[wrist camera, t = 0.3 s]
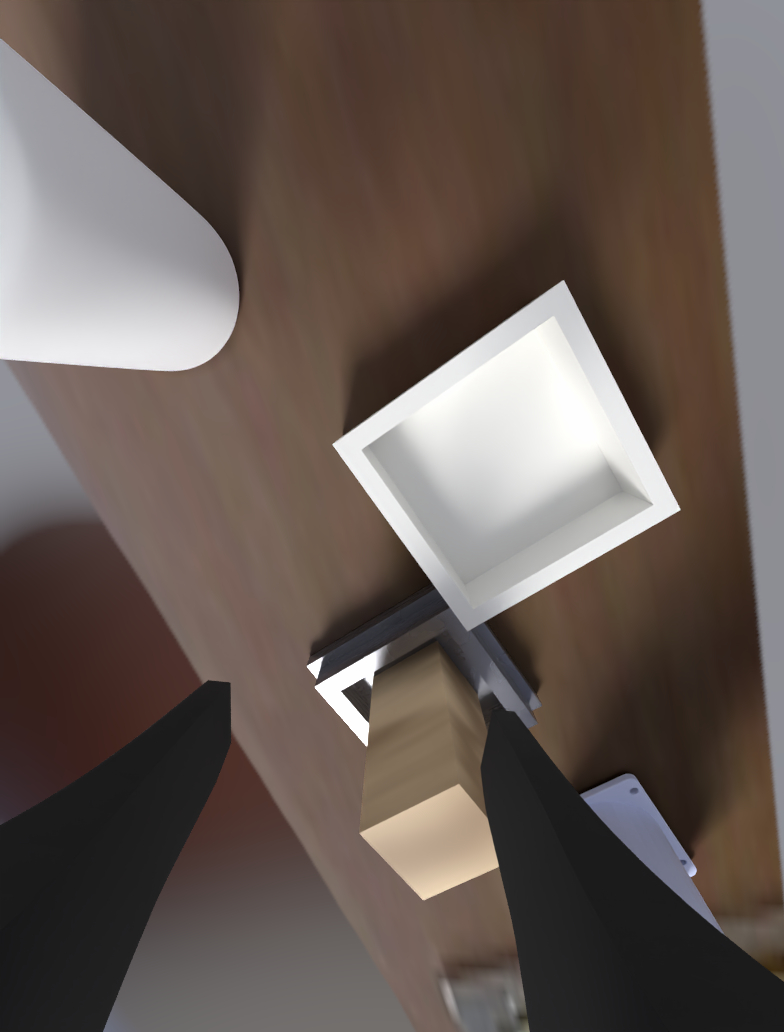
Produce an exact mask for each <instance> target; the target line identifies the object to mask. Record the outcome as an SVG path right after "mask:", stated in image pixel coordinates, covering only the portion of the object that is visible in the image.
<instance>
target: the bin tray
mask: <svg viewBox="0 0 784 1032" xmlns="http://www.w3.org/2000/svg"><path fill="white" fill-rule="evenodd" d="M332 445H333V446H334V448H335V449H336V450H337V452H338V453H339V454H340V456H341V457H342V459H343V460H344V461H345V463H346V464H347V466H348V467H349V468H350V470H351V471H352V472H353V474H354V475H355V477H356V478H357V479H358V481H359V482H360V484H361V485H362V486H363V488H364V489H365V490H366V492H367V493H368V495H369V496H370V497H371V499H372V500H373V502H374V503H375V504H376V506H377V507H378V508H379V510H380V511H381V513H382V514H383V515H384V517H385V518H386V520H387V521H388V522H389V524H390V525H391V526H392V528H393V529H394V531H395V532H396V533H397V535H398V536H399V538H400V539H401V540H402V542H403V543H404V544H405V546H406V547H407V549H408V550H409V551H410V553H411V554H412V556H413V557H414V558H415V560H416V561H417V562H418V564H419V565H420V567H421V568H422V569H423V571H424V572H425V574H426V575H427V576H428V578H429V579H430V580H431V582H432V583H433V585H434V586H435V587H436V589H437V590H438V592H439V593H440V594H441V596H442V597H443V598H444V600H445V601H446V603H447V604H448V605H449V607H450V608H451V610H452V611H453V612H454V614H455V615H456V617H457V618H458V619H459V621H460V622H461V623H462V625H463V626H464V628H465V629H466V630H467V631H469V630H471V629H472V628H474V627H476V626H478V625H479V624H481V623H483V622H485V621H487V620H488V619H490V618H492V617H494V616H495V615H497V614H499V613H501V612H502V611H504V610H506V609H508V608H509V607H511V606H513V605H515V604H516V603H518V602H520V601H522V600H523V599H525V598H527V597H529V596H530V595H532V594H534V593H536V592H537V591H539V590H541V589H543V588H544V587H546V586H548V585H550V584H551V583H553V582H555V581H557V580H558V579H560V578H562V577H564V576H565V575H567V574H569V573H571V572H573V571H574V570H576V569H578V568H580V567H581V566H583V565H585V564H587V563H588V562H590V561H592V560H594V559H595V558H597V557H599V556H601V555H602V554H604V553H606V552H608V551H609V550H611V549H613V548H615V547H616V546H618V545H620V544H622V543H623V542H625V541H627V540H629V539H630V538H632V537H634V536H636V535H637V534H639V533H641V532H643V531H644V530H646V529H648V528H650V527H652V526H653V525H655V524H657V523H659V522H660V521H662V520H664V519H666V518H667V517H669V516H671V515H673V514H674V513H676V512H678V511H680V508H679V506H678V504H677V502H676V500H675V498H674V496H673V494H672V492H671V490H670V488H669V486H668V484H667V482H666V480H665V478H664V476H663V474H662V472H661V470H660V468H659V466H658V464H657V462H656V460H655V459H654V457H653V455H652V453H651V451H650V449H649V447H648V445H647V443H646V441H645V439H644V437H643V435H642V433H641V431H640V429H639V427H638V425H637V423H636V421H635V419H634V417H633V415H632V413H631V411H630V409H629V407H628V405H627V403H626V401H625V399H624V397H623V396H622V394H621V392H620V390H619V388H618V386H617V384H616V382H615V380H614V378H613V376H612V374H611V372H610V370H609V368H608V366H607V364H606V362H605V360H604V358H603V356H602V354H601V352H600V350H599V348H598V346H597V344H596V342H595V340H594V338H593V336H592V334H591V333H590V331H589V329H588V327H587V325H586V323H585V321H584V319H583V317H582V315H581V313H580V311H579V309H578V307H577V305H576V303H575V301H574V299H573V297H572V295H571V293H570V291H569V289H568V287H567V285H566V283H565V281H564V280H563V281H561V282H560V283H558V284H557V285H555V286H554V287H552V288H551V289H549V290H548V291H546V292H545V293H543V294H542V295H540V296H539V297H537V298H536V299H534V300H533V301H531V302H530V303H529V304H527V305H526V306H524V307H523V308H522V309H520V310H519V311H517V312H516V313H515V314H513V315H512V316H510V317H509V318H508V319H506V320H505V321H503V322H502V323H500V324H499V325H498V326H496V327H495V328H493V329H492V330H491V331H489V332H488V333H486V334H485V335H484V336H482V337H481V338H479V339H478V340H477V341H475V342H474V343H472V344H471V345H470V346H468V347H467V348H465V349H464V350H463V351H461V352H460V353H458V354H457V355H456V356H454V357H453V358H451V359H450V360H449V361H447V362H446V363H444V364H443V365H442V366H440V367H439V368H437V369H436V370H435V371H433V372H432V373H430V374H429V375H427V376H426V377H425V378H423V379H422V380H420V381H419V382H418V383H416V384H415V385H413V386H412V387H411V388H409V389H408V390H406V391H405V392H404V393H402V394H401V395H399V396H398V397H397V398H395V399H394V400H392V401H391V402H390V403H388V404H387V405H385V406H384V407H383V408H381V409H380V410H378V411H377V412H376V413H374V414H373V415H371V416H370V417H369V418H367V419H366V420H364V421H363V422H362V423H360V424H359V425H357V426H356V427H355V428H353V429H352V430H350V431H349V432H347V433H346V434H345V435H343V436H342V437H341V438H340V439H338V440H337V441H336V442H335V443H334V444H332Z"/></svg>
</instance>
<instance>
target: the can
mask: <svg viewBox="0 0 784 1032" xmlns="http://www.w3.org/2000/svg"><path fill="white" fill-rule="evenodd" d="M238 309H239V285H238V279H237V274H236V270H235V267H234V264H233V261H232V258H231V256H230V254H229V252H228V250H227V248H226V246H225V244H224V242H223V241H222V239H221V238H220V236H219V235H218V234H217V232H216V231H215V230H214V229H213V227H212V226H211V225H210V224H209V223H208V222H207V221H206V220H205V219H204V218H203V217H202V216H201V215H200V214H199V213H198V212H197V211H196V210H195V209H194V208H192V207H191V206H190V205H189V204H188V203H187V202H186V201H185V200H184V199H183V198H181V197H180V196H179V195H178V194H177V193H176V192H175V191H174V190H172V189H171V188H170V187H169V186H168V185H167V184H166V183H165V182H163V181H162V180H161V179H160V178H159V177H158V176H157V175H156V174H154V173H153V172H152V171H151V170H150V169H149V168H148V167H146V166H145V165H144V164H143V163H142V162H141V161H140V160H139V159H137V158H136V157H135V156H134V155H133V154H132V153H131V152H130V151H128V150H127V149H126V148H125V147H124V146H123V145H122V144H120V143H119V142H118V141H117V140H116V139H115V138H114V137H113V136H111V135H110V134H109V133H108V132H107V131H106V130H105V129H103V128H102V127H101V126H100V125H99V124H98V123H97V122H95V121H94V120H93V119H92V118H91V117H90V116H89V115H88V114H86V113H85V112H84V111H83V110H82V109H81V108H80V107H78V106H77V105H76V104H75V103H74V102H73V101H72V100H70V99H69V98H68V97H67V96H66V95H65V94H64V93H63V92H61V91H60V90H59V89H58V88H57V87H56V86H55V85H53V84H52V83H51V82H50V81H49V80H48V79H47V78H45V77H44V76H43V75H42V74H41V73H40V72H39V71H37V70H36V69H35V68H34V67H33V66H32V65H31V64H29V63H28V62H27V61H26V60H25V59H24V58H23V57H21V56H20V55H19V54H18V53H17V52H16V51H15V50H13V49H12V48H11V47H10V46H9V45H8V44H6V43H5V42H4V41H3V40H2V39H1V38H0V359H8V360H20V361H33V362H46V363H59V364H72V365H85V366H99V367H113V368H127V369H141V370H157V371H180V370H186V369H190V368H194V367H197V366H199V365H201V364H203V363H205V362H207V361H208V360H210V359H211V358H212V357H214V356H215V355H216V354H217V353H218V352H219V351H220V350H221V349H222V348H223V346H224V345H225V344H226V342H227V341H228V339H229V337H230V335H231V333H232V331H233V329H234V326H235V323H236V319H237V315H238Z"/></svg>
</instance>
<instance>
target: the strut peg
mask: <svg viewBox="0 0 784 1032" xmlns="http://www.w3.org/2000/svg"><path fill="white" fill-rule="evenodd" d="M486 738H487V729H486V725H485V721H484V717H483V713H482V709H481V705H480V702H479V698H478V694H477V693H476V692H475V690H474V689H473V688H472V686H471V685H470V684H469V682H468V681H467V680H466V678H465V677H464V676H463V675H462V673H461V672H460V671H459V669H458V668H457V667H456V665H455V664H454V663H453V661H452V660H451V659H450V657H449V656H448V655H447V653H446V652H445V651H444V649H443V648H442V647H441V645H440V644H439V643H438V641H436V642H434V643H432V644H430V645H429V646H427V647H425V648H423V649H422V650H420V651H418V652H416V653H415V654H413V655H411V656H409V657H408V658H406V659H404V660H403V661H401V662H399V663H397V664H396V665H394V666H392V667H390V668H389V669H387V670H385V671H383V672H382V673H380V674H378V675H376V676H375V677H373V684H372V695H371V706H370V717H369V729H368V740H367V751H366V763H365V774H364V785H363V797H362V808H361V819H360V831H359V833H360V834H361V836H362V837H363V838H364V839H365V840H366V841H367V842H368V843H369V844H370V845H371V846H372V847H373V848H374V849H375V850H376V851H377V852H378V853H379V854H380V855H381V856H382V857H383V859H384V860H385V861H386V862H387V863H388V864H389V865H390V866H391V867H392V868H393V869H394V870H395V871H396V872H397V873H398V874H399V875H400V876H401V877H402V878H403V879H404V880H405V882H406V883H407V884H408V885H409V886H410V887H411V888H412V889H413V890H414V891H415V892H416V893H417V894H418V895H419V896H420V897H421V898H422V899H423V900H425V899H427V898H430V897H432V896H434V895H436V894H439V893H441V892H443V891H445V890H448V889H450V888H452V887H454V886H457V885H459V884H461V883H463V882H466V881H468V880H470V879H472V878H475V877H477V876H479V875H481V874H484V873H486V872H488V871H490V870H493V869H495V868H497V867H499V864H498V860H497V856H496V852H495V848H494V843H493V839H492V835H491V831H490V826H489V822H488V818H487V813H486V809H485V801H484V794H483V786H482V778H481V770H480V766H481V762H482V757H483V752H484V747H485V743H486Z"/></svg>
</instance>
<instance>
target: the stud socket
mask: <svg viewBox="0 0 784 1032" xmlns="http://www.w3.org/2000/svg"><path fill="white" fill-rule="evenodd" d="M436 641H438V643H439V644H440V645H441V647H442V648H443V649H444V651H445V652H446V653H447V655H448V656H449V657H450V659H451V660H452V661H453V663H454V664H455V665H456V667H457V668H458V669H459V671H460V672H461V673H462V675H463V676H464V677H465V678H466V680H467V681H468V682H469V684H470V685H471V686H472V688H473V689H474V690H475V692H476V693H477V694H478V698H479V702H480V705H481V709H482V713H483V717H484V721H485V725H486V729H487V733H488V729H489V724H490V719H491V714H492V710H493V709H496V710H505V711H515V713H516V714H517V715H518V716H519V718H520V719H521V720H522V722H523V723H524V724H525V726H526V727H527V728H530V727H532V726H534V725H536V724H538V723H537V721H536V718H535V716H534V713H533V711H532V710H534V709H536V708H538V707H540V706H542V704H541V702H540V700H539V698H538V695H537V694H536V692H535V691H534V689H533V688H532V687H531V685H530V684H529V682H528V681H527V680H526V678H525V677H524V675H523V674H522V672H521V671H520V670H519V668H518V667H517V665H516V664H515V662H514V661H513V660H512V658H511V657H510V655H509V654H508V652H507V651H506V650H505V648H504V647H503V645H502V644H501V642H500V641H499V640H498V638H497V637H496V635H495V634H494V633H493V631H492V630H491V628H490V627H489V625H488V624H487V623H486V621H485V622H483V623H481V624H479V625H478V626H476V627H474V628H472V629H471V630H469V631H467V630H466V629H465V628H464V626H463V625H462V623H461V622H460V621H459V619H458V618H457V617H456V615H455V614H454V612H453V611H452V610H451V608H450V607H449V605H448V604H447V603H446V601H445V600H444V598H443V597H442V596H441V594H440V593H439V592H438V590H437V589H436V587H435V586H434V585H433V583H431V584H429V585H428V586H426V587H424V588H423V589H421V590H419V591H418V592H416V593H415V594H413V595H411V596H410V597H408V598H406V599H405V600H403V601H401V602H400V603H398V604H396V605H395V606H393V607H391V608H390V609H388V610H386V611H385V612H383V613H381V614H380V615H378V616H376V617H375V618H373V619H372V620H370V621H368V622H367V623H365V624H363V625H362V626H360V627H358V628H357V629H355V630H353V631H352V632H350V633H348V634H347V635H345V636H343V637H342V638H340V639H338V640H337V641H335V642H333V643H332V644H330V645H329V646H327V647H325V648H324V649H322V650H320V651H319V652H317V653H315V654H314V655H312V656H310V657H309V660H308V663H307V668H308V669H309V670H310V671H311V672H312V673H313V674H314V676H315V677H316V678H317V681H316V684H315V688H316V689H317V690H318V691H319V692H320V694H321V695H322V696H323V697H324V698H325V699H326V700H327V702H328V703H329V704H330V705H331V706H332V707H333V708H334V709H335V711H336V712H337V713H338V714H339V715H340V716H341V717H342V719H343V720H344V721H345V722H346V723H347V724H348V725H349V727H350V728H351V729H352V730H353V731H354V732H355V733H356V735H357V736H358V737H359V738H360V739H361V740H362V741H363V743H364V744H365V745H366V746H367V740H368V729H369V717H370V706H371V695H372V684H373V677H375V676H376V675H378V674H380V673H382V672H383V671H385V670H387V669H389V668H390V667H392V666H394V665H396V664H397V663H399V662H401V661H403V660H404V659H406V658H408V657H409V656H411V655H413V654H415V653H416V652H418V651H420V650H422V649H423V648H425V647H427V646H429V645H430V644H432V643H434V642H436Z"/></svg>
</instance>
